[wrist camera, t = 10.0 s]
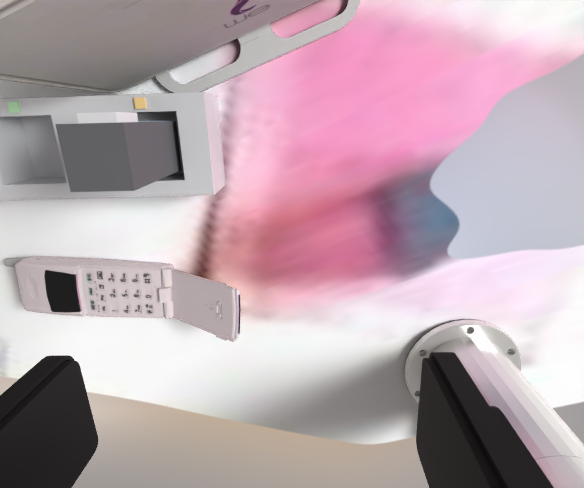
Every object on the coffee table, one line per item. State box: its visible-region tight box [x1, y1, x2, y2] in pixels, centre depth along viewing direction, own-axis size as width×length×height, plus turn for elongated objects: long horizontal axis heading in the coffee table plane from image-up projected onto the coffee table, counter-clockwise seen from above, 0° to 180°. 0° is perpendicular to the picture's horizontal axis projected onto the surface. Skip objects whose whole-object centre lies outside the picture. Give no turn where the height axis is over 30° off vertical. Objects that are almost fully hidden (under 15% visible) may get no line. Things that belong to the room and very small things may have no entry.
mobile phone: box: [5, 257, 240, 342], centre depth 36 cm, size 6×6×25 cm
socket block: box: [0, 92, 225, 200], centre depth 32 cm, size 8×20×5 cm, turn 92°
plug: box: [55, 112, 184, 192], centre depth 27 cm, size 5×4×12 cm
